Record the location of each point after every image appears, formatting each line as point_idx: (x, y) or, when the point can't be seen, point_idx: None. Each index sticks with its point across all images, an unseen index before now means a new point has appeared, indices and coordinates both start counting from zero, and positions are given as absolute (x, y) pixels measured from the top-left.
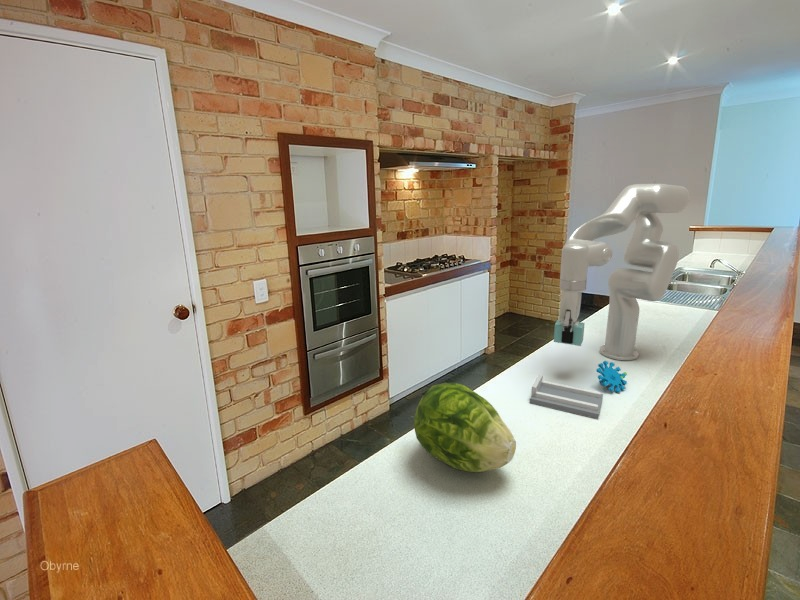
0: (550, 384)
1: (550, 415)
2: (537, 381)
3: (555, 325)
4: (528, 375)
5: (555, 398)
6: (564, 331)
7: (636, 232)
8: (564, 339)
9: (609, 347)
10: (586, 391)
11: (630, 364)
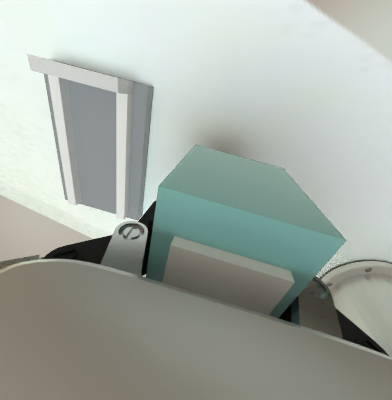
0: (116, 118)
1: (35, 114)
2: (68, 74)
3: (162, 187)
4: (209, 46)
5: (58, 127)
6: (150, 229)
7: None
8: (153, 203)
9: (363, 289)
10: (116, 195)
11: None
